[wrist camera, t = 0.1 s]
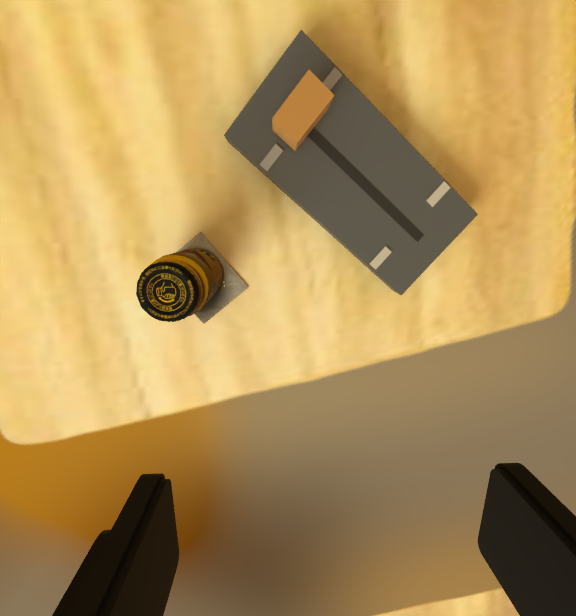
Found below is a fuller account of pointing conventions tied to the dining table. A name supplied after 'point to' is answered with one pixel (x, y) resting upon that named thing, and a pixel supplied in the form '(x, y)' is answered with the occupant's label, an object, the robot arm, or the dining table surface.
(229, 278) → the condiment
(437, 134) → the dining table surface
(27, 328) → the dining table surface
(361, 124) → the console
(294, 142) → the fader tab
